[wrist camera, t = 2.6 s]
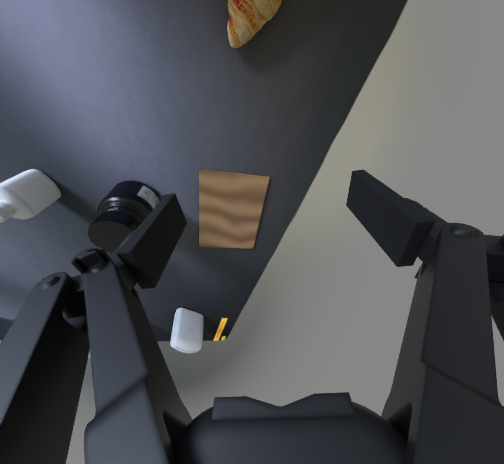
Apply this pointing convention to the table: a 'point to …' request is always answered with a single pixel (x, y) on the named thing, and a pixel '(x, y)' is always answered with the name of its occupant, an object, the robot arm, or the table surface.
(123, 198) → the ink bottle
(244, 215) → the wooden board
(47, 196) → the eye dropper bottle
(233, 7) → the croissant
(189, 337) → the photo printer
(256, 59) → the table surface
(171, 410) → the robot arm
